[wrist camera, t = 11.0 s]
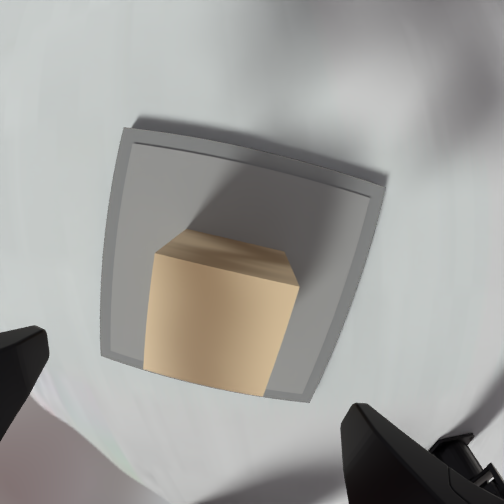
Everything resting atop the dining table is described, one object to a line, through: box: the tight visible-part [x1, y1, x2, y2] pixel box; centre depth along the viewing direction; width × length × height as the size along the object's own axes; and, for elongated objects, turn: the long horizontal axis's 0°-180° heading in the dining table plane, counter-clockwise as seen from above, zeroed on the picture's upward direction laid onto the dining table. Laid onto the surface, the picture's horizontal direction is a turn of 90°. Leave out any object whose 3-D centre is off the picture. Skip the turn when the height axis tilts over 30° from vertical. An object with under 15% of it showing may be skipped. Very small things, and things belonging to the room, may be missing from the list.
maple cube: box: [143, 229, 300, 397], centre depth 13 cm, size 5×5×5 cm
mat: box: [100, 127, 386, 403], centre depth 16 cm, size 14×14×1 cm
